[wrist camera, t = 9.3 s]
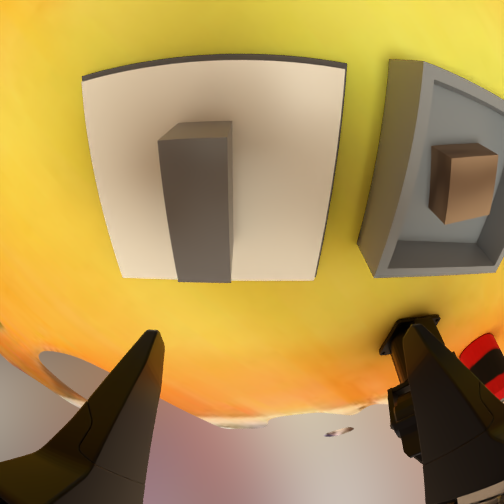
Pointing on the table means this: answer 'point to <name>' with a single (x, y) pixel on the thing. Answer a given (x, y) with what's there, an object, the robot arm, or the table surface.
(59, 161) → the table surface
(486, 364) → the soda can
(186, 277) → the lid
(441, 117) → the storage box
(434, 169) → the walnut block
